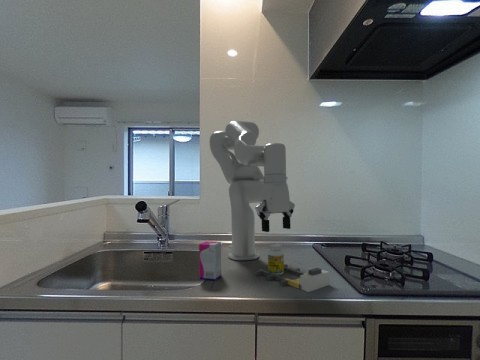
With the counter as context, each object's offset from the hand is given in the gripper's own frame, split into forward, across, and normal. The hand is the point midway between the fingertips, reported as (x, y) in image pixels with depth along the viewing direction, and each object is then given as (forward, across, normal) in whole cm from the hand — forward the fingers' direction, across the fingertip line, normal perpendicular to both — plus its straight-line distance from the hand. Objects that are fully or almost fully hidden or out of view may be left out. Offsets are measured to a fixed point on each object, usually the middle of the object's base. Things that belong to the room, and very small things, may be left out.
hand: (276, 230), depth 103 cm
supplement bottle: (+15, 0, -1) cm, 15 cm away
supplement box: (+15, +20, -11) cm, 27 cm away
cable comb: (+15, 0, +6) cm, 16 cm away
